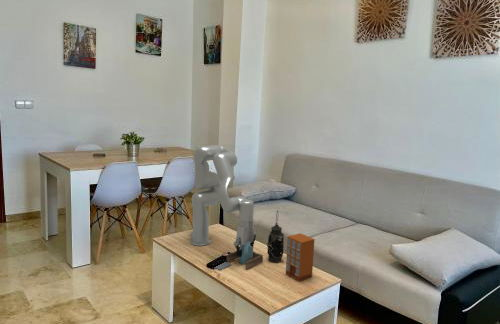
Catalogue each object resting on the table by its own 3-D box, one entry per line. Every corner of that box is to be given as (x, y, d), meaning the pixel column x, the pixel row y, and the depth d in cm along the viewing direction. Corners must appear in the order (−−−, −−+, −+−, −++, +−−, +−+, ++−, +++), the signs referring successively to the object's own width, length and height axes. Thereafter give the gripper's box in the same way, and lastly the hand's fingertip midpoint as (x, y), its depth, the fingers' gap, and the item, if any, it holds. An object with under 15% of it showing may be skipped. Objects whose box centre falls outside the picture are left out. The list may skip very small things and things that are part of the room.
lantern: (281, 264, 206) (284, 213, 201) (265, 262, 207) (267, 212, 203) (283, 257, 215) (286, 209, 211) (267, 255, 217) (270, 207, 212)
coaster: (207, 265, 201) (207, 264, 201) (219, 260, 208) (219, 259, 208) (220, 270, 195) (220, 269, 195) (231, 265, 202) (231, 264, 202)
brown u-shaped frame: (226, 262, 206) (226, 255, 205) (242, 254, 216) (243, 248, 216) (247, 270, 197) (247, 262, 196) (263, 262, 208) (263, 255, 207)
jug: (237, 262, 206) (237, 241, 204) (243, 259, 210) (244, 238, 208) (248, 266, 201) (249, 244, 199) (255, 263, 205) (255, 241, 204)
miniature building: (284, 274, 194) (286, 236, 191) (297, 270, 199) (300, 233, 196) (298, 282, 186) (300, 242, 183) (311, 277, 192) (314, 239, 188)
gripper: (250, 218, 212) (249, 247, 215) (229, 225, 199) (228, 256, 201) (261, 220, 207) (260, 251, 210) (240, 228, 194) (239, 260, 197)
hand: (244, 253), depth 206 cm, fingers open, 9 cm apart
